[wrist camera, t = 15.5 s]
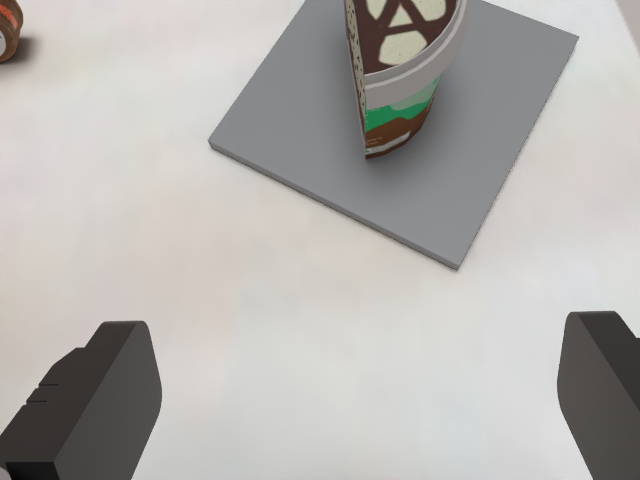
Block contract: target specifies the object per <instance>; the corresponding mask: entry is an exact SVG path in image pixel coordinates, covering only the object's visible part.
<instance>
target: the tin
mask: <svg viewBox="0 0 640 480" xmlns="http://www.w3.org/2000/svg"><path fill="white" fill-rule="evenodd" d="M22 25H23V13H22V10H21V8H20V6H19V5H18V3H17V2H16V0H0V62H3V61H5V60H7V59H9V58H10V57H11V56H12V55H13V54H14V53H15V51H16V49H17V45H18V41H19V35H20V29H21V27H22Z"/></svg>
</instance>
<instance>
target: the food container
mask: <svg viewBox="0 0 640 480" xmlns="http://www.w3.org/2000/svg"><path fill="white" fill-rule="evenodd" d="M343 2H344V14H345V27H346V39H347V46H348V52H349V59H350V65H351V72H352V78H353V84H354V91H355V97H356V104H357V110H358V116H359V123H360V129H361V136H362V142H363V149H364V155H365V160H366V159H370V158H374V157H379V156H383V155H385V154H387V153H389V152H391V151H393V150H395V149H397V148H399V147H401V146H403V145H405V144H406V143H407V142H408V141H409V140H410V139H411V138H412V137H413V136H414V135H415V134H416V133H417V132H418V131H419V130H420V129H421V127H422V125H423V123H424V121H425V119H426V117H427V115H428V113H429V111H430V108H431V105H432V102H433V98H434V95H435V92H436V88H437V85H438V82H439V78H440V75H441V73H442V72H443V71H444V70H445V69H446V68H447V67H448V66H449V64H450V63H451V62H452V60H453V59H454V57H455V56H456V54H457V53H458V51H459V49H460V47H461V45H462V42H463V40H464V38H465V34H466V30H467V26H468V21H469V1H468V0H343Z"/></svg>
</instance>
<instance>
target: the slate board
mask: <svg viewBox="0 0 640 480" xmlns="http://www.w3.org/2000/svg"><path fill="white" fill-rule="evenodd" d="M468 1H469V21H468V26H467V30H466V34H465V38H464V40H463V42H462V45H461V47H460V49H459V51H458V53H457V54H456V56H455V57H454V59H453V60H452V62H451V63H450V64H449V66H448V67H447V68H446V69H445V70H444V71H443V72H442V73H441V75H440V78H439V82H438V85H437V88H436V92H435V95H434V98H433V102H432V105H431V108H430V111H429V113H428V115H427V117H426V119H425V121H424V123H423V125H422V127H421V129H420V130H419V131H418V132H417V133H416V134H415V135H414V136H413V137H412V138H411V139H410V140H409V141H408V142H407V143H406V144H405V145H403V146H401V147H399V148H397V149H395V150H393V151H391V152H389V153H387V154H385V155H383V156H379V157H374V158H370V159H366V160H365V155H364V149H363V142H362V136H361V129H360V123H359V116H358V110H357V104H356V97H355V91H354V84H353V78H352V72H351V65H350V59H349V52H348V46H347V39H346V27H345V14H344V2H343V0H306V1H305V2H304V4H303V5H302V6H301V8H300V9H299V11H298V12H297V14H296V15H295V16H294V18H293V19H292V21H291V22H290V24H289V25H288V26H287V28H286V29H285V31H284V32H283V34H282V35H281V36H280V38H279V39H278V41H277V42H276V43H275V45H274V46H273V48H272V49H271V51H270V52H269V53H268V55H267V56H266V58H265V59H264V61H263V62H262V63H261V65H260V66H259V68H258V69H257V71H256V72H255V73H254V75H253V76H252V78H251V79H250V81H249V82H248V83H247V85H246V86H245V88H244V89H243V90H242V92H241V93H240V95H239V96H238V98H237V99H236V100H235V102H234V103H233V105H232V106H231V108H230V109H229V110H228V112H227V113H226V115H225V116H224V118H223V119H222V120H221V122H220V123H219V125H218V126H217V127H216V129H215V130H214V132H213V133H212V135H211V136H210V137H209V139H208V142H209V144H210V146H211V147H212V148H213V149H215V150H217V151H219V152H221V153H223V154H225V155H227V156H229V157H231V158H233V159H235V160H237V161H239V162H241V163H243V164H245V165H247V166H249V167H251V168H253V169H255V170H257V171H259V172H261V173H263V174H265V175H267V176H269V177H271V178H273V179H275V180H277V181H279V182H281V183H283V184H285V185H287V186H289V187H291V188H293V189H295V190H297V191H299V192H301V193H303V194H305V195H307V196H309V197H311V198H313V199H315V200H317V201H319V202H321V203H323V204H325V205H327V206H329V207H331V208H333V209H335V210H337V211H339V212H341V213H343V214H345V215H347V216H349V217H351V218H353V219H355V220H357V221H359V222H361V223H363V224H365V225H367V226H369V227H371V228H373V229H375V230H377V231H379V232H381V233H383V234H385V235H387V236H389V237H391V238H393V239H395V240H397V241H399V242H401V243H403V244H405V245H407V246H409V247H411V248H413V249H415V250H417V251H419V252H421V253H423V254H425V255H427V256H429V257H431V258H433V259H435V260H437V261H439V262H441V263H443V264H445V265H447V266H449V267H451V268H453V269H455V270H458V268H459V266H460V264H461V262H462V260H463V258H464V256H465V254H466V253H467V251H468V249H469V247H470V245H471V243H472V241H473V239H474V237H475V235H476V234H477V232H478V230H479V228H480V226H481V224H482V222H483V220H484V218H485V216H486V215H487V213H488V211H489V209H490V207H491V205H492V203H493V201H494V199H495V197H496V195H497V194H498V192H499V190H500V188H501V186H502V184H503V182H504V180H505V178H506V176H507V175H508V173H509V171H510V169H511V167H512V165H513V163H514V161H515V159H516V157H517V155H518V154H519V152H520V150H521V148H522V146H523V144H524V142H525V140H526V138H527V136H528V135H529V133H530V131H531V129H532V127H533V125H534V123H535V121H536V119H537V117H538V116H539V114H540V112H541V110H542V108H543V106H544V104H545V102H546V100H547V98H548V96H549V95H550V93H551V91H552V89H553V87H554V85H555V83H556V81H557V79H558V77H559V76H560V74H561V72H562V70H563V68H564V66H565V64H566V62H567V60H568V58H569V56H570V55H571V53H572V51H573V49H574V47H575V45H576V43H577V41H578V39H579V36H577V35H574V34H571V33H569V32H566V31H563V30H560V29H558V28H555V27H552V26H550V25H547V24H544V23H542V22H539V21H536V20H534V19H531V18H528V17H525V16H523V15H520V14H517V13H515V12H512V11H509V10H507V9H504V8H501V7H499V6H496V5H493V4H490V3H488V2H485V1H482V0H468Z"/></svg>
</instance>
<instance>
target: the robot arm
mask: <svg viewBox="0 0 640 480" xmlns="http://www.w3.org/2000/svg"><path fill="white" fill-rule="evenodd" d="M557 392H558V399H559V404H560V408H561V411H562V413H563V416H564V418H565V420H566V422H567V424H568V426H569V429H570V431H571V433H572V435H573V437H574V439H575V441H576V444H577V446H578V448H579V450H580V452H581V454H582V456H583V459H584V461H585V463H586V465H587V467H588V469H589V471H590V474H591V476H592V478H593V480H640V338H636V337H635V335H634V334H633V333H632V332H631V330H630V329H629V328H628V326H627V325H626V324H625V322H624V321H623V320H622V318H621V317H620V316H619V315H618V313H616V312H615V311H587V312H571V313H569V315H568V316H567V319H566V323H565V330H564V337H563V344H562V350H561V357H560V364H559V371H558V378H557ZM161 401H162V387H161V381H160V376H159V372H158V367H157V363H156V359H155V354H154V350H153V345H152V341H151V336H150V332H149V329H148V326H147V324H146V323H145V322H144V321H106V322H103V323H102V324H101V325H100V326H99V328H98V329H97V331H96V332H95V333H94V335H93V336H92V338H91V339H90V341H89V342H88V343H87V345H86V346H85V348H75V349H74V350H73V351H71V352H70V353H68V354H67V355H66V356H64V357H63V358H62V359H60V360H59V361H58V362H56V363H55V364H54V365H53V366H52V367H51V368H50V370H49V371H48V372H47V374H46V375H45V377H44V378H43V379H42V381H41V382H40V383H39V387H38V388H36V389H35V390H34V391H33V393H32V394H31V395H30V397H29V398H28V399H27V401H26V405H23V406H22V407H21V409H20V410H19V411H18V413H17V414H16V415H15V417H14V418H13V419H12V421H11V422H10V423H9V425H8V426H7V427H6V429H5V430H4V431H3V433H2V434H1V435H0V480H131V478H132V476H133V474H134V471H135V469H136V467H137V464H138V462H139V460H140V457H141V455H142V453H143V451H144V448H145V446H146V444H147V441H148V439H149V437H150V434H151V432H152V430H153V427H154V425H155V423H156V420H157V418H158V415H159V412H160V408H161Z"/></svg>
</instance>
